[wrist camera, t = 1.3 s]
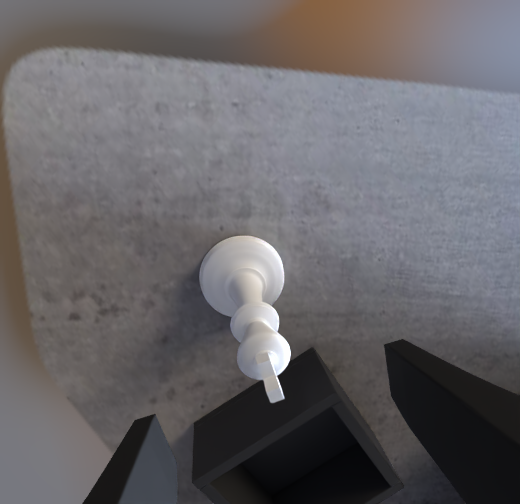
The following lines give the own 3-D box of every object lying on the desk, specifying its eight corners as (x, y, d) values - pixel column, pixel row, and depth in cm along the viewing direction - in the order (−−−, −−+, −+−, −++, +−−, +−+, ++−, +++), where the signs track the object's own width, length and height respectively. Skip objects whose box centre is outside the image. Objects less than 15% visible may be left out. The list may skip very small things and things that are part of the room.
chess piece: (216, 325, 21) (227, 476, 12) (186, 252, 19) (169, 361, 10) (293, 297, 21) (363, 423, 12) (269, 223, 20) (329, 302, 10)
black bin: (193, 422, 23) (191, 483, 19) (312, 346, 23) (336, 391, 19) (268, 498, 26) (279, 564, 22) (373, 432, 26) (405, 487, 22)
